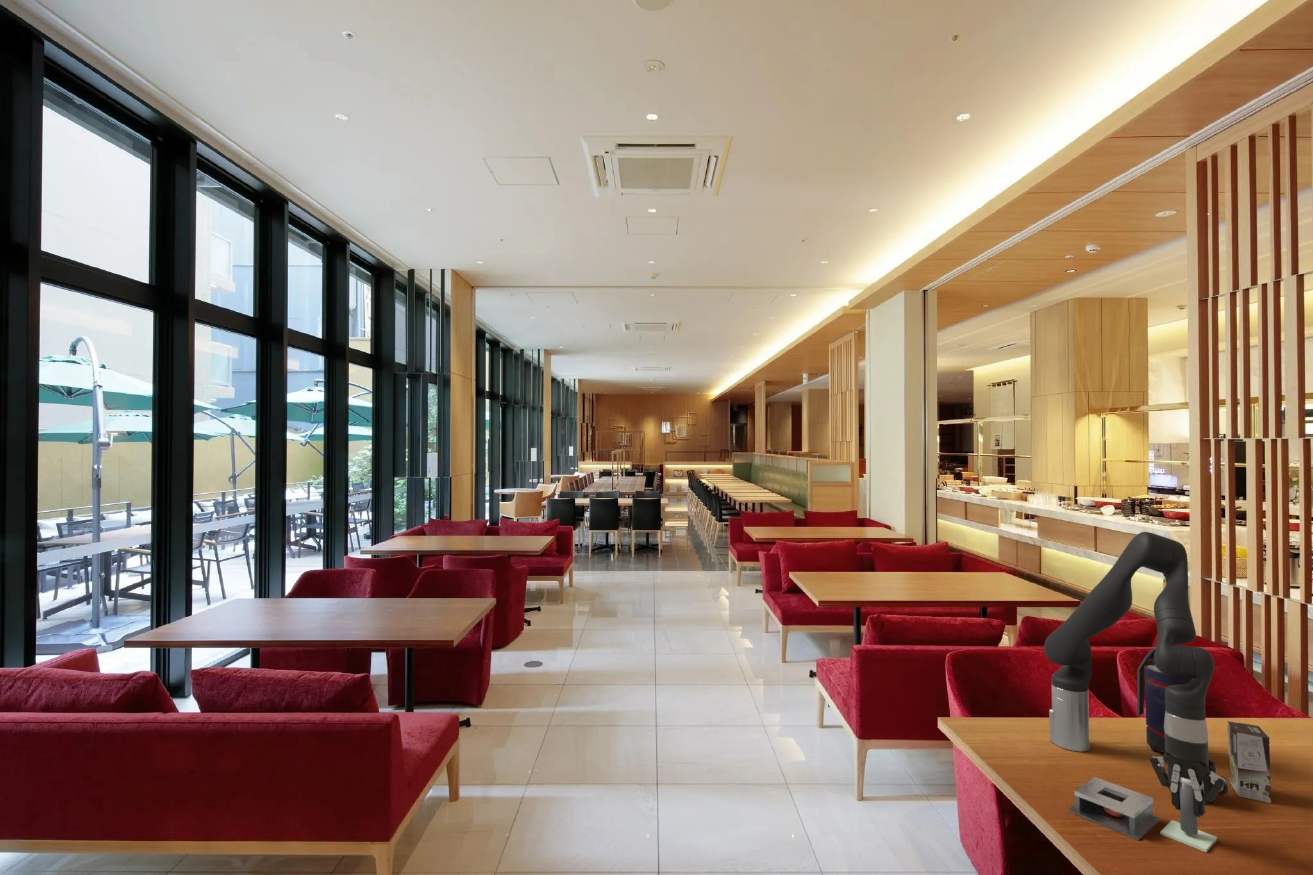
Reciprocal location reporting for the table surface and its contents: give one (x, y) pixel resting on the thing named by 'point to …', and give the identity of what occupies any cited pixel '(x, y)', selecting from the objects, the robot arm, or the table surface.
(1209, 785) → the mug
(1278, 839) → the table surface
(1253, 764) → the coffee box
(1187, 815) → the peg
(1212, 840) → the pad
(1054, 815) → the table surface
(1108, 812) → the button
